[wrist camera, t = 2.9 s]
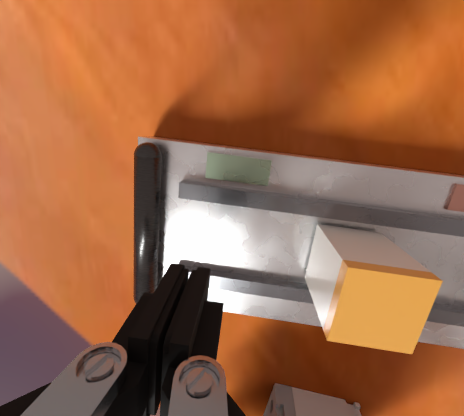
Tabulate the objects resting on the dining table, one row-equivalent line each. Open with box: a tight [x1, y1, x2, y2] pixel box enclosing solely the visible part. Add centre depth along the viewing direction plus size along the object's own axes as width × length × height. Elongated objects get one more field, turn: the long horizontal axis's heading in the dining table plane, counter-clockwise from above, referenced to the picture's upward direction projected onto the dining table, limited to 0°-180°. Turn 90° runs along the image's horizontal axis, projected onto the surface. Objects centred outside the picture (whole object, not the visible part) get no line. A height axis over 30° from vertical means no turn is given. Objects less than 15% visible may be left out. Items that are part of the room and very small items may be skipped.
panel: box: [134, 136, 464, 349], centre depth 17 cm, size 28×12×4 cm, turn 83°
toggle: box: [305, 224, 443, 354], centre depth 14 cm, size 4×4×6 cm
